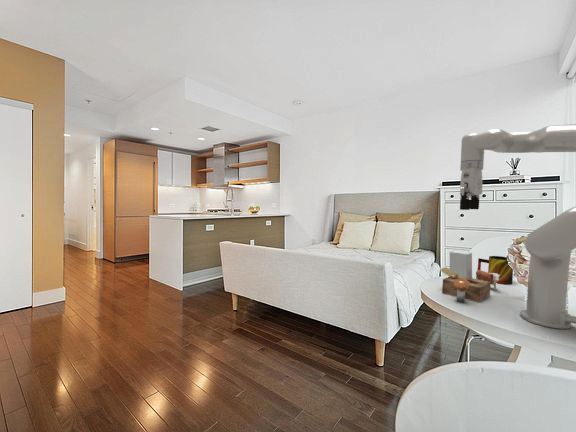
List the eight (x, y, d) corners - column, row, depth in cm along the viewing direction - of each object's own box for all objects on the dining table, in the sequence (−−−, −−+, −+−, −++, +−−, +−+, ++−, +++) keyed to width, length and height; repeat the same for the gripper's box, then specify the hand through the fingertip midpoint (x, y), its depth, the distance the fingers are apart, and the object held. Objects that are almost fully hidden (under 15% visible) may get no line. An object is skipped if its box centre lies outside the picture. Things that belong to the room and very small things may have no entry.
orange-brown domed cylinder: (470, 302, 108) (471, 281, 107) (465, 305, 105) (466, 283, 104) (456, 298, 112) (457, 278, 111) (450, 301, 109) (451, 280, 108)
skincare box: (472, 282, 133) (473, 252, 132) (466, 284, 130) (467, 253, 129) (454, 278, 140) (455, 249, 139) (448, 280, 137) (449, 251, 136)
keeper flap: (457, 277, 121) (458, 275, 120) (453, 279, 118) (454, 277, 118) (444, 269, 125) (445, 267, 125) (440, 270, 122) (441, 268, 122)
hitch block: (489, 296, 115) (490, 282, 114) (479, 302, 107) (480, 287, 107) (453, 287, 126) (454, 274, 125) (442, 292, 118) (442, 279, 118)
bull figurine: (494, 293, 118) (496, 274, 118) (473, 283, 132) (473, 267, 131) (504, 293, 119) (505, 274, 118) (481, 283, 132) (482, 267, 131)
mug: (477, 276, 144) (478, 254, 143) (510, 280, 137) (511, 257, 136) (478, 281, 136) (479, 257, 135) (513, 286, 128) (515, 261, 128)
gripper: (474, 163, 99) (472, 210, 100) (490, 167, 109) (487, 209, 111) (452, 165, 105) (450, 209, 106) (469, 168, 115) (467, 208, 116)
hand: (469, 209), depth 108 cm, fingers open, 9 cm apart
